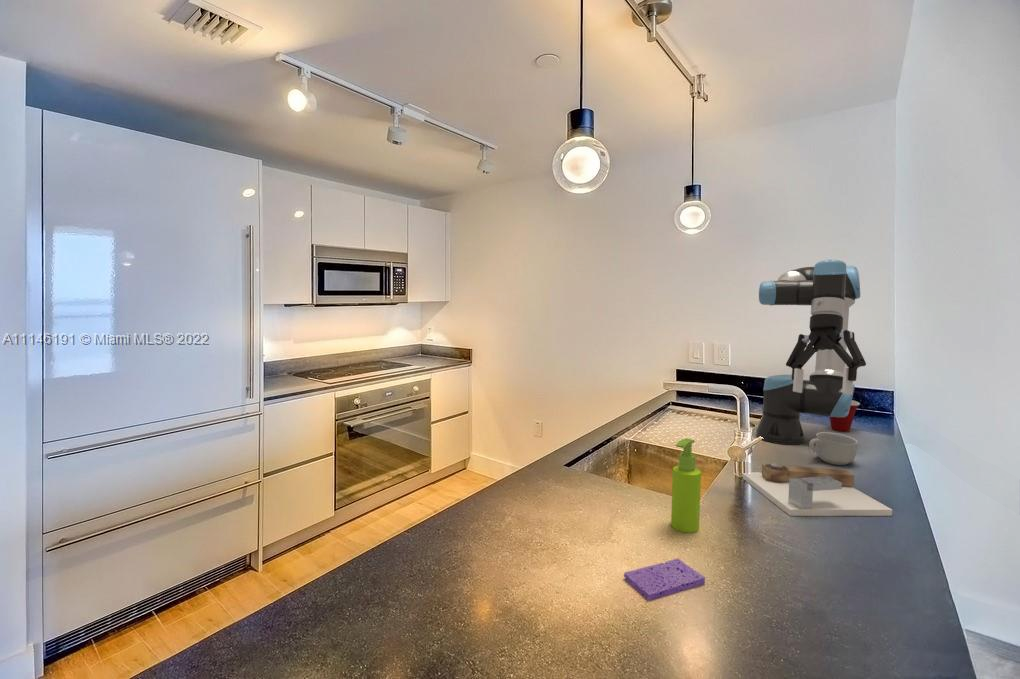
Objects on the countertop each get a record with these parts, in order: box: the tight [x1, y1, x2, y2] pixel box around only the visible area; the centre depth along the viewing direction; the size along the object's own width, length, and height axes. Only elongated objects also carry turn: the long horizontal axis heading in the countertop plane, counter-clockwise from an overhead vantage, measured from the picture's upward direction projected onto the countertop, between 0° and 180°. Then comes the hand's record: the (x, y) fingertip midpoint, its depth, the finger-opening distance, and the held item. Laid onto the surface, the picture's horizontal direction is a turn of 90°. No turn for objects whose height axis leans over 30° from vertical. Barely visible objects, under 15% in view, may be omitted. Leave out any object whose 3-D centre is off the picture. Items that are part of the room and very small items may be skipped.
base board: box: [742, 471, 893, 517], centre depth 122 cm, size 24×24×2 cm
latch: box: [761, 462, 855, 488], centre depth 127 cm, size 21×6×4 cm, turn 78°
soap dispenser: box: [670, 437, 702, 534], centre depth 104 cm, size 6×7×20 cm
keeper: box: [788, 476, 842, 509], centre depth 113 cm, size 4×10×7 cm, turn 98°
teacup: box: [808, 431, 859, 466], centre depth 146 cm, size 14×11×8 cm
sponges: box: [623, 557, 706, 602], centre depth 85 cm, size 7×13×2 cm, turn 112°
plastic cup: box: [828, 399, 861, 433], centre depth 181 cm, size 11×11×12 cm
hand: (821, 392), depth 125 cm, fingers open, 13 cm apart
